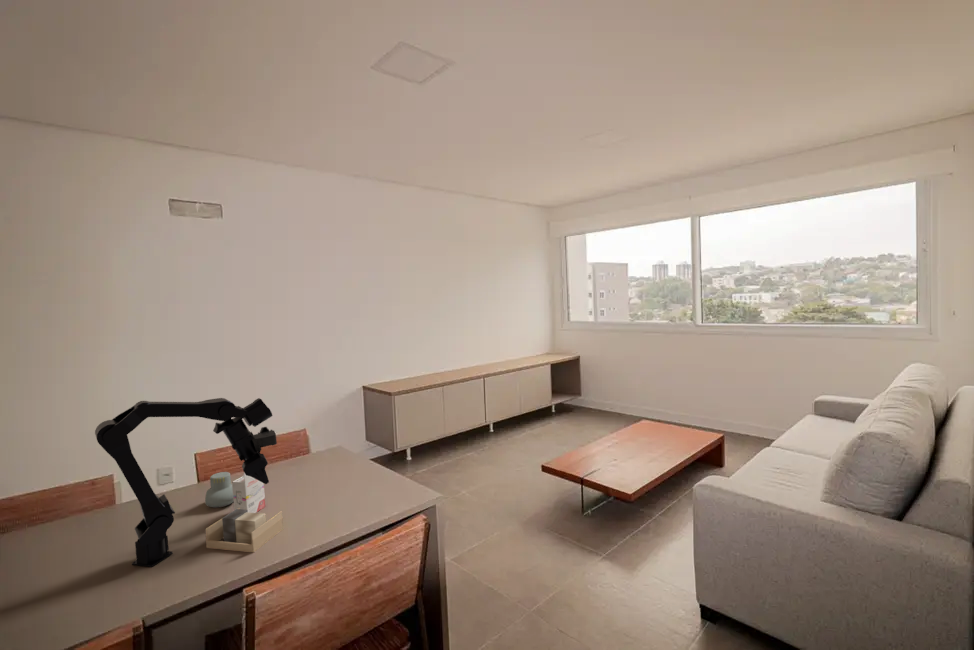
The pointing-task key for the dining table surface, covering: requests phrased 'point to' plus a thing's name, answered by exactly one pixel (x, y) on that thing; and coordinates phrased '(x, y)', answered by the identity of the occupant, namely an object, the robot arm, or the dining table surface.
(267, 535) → the wooden tray frame
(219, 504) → the air freshener
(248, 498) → the ink cartridge box
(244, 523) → the steel ended block
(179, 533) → the dining table surface
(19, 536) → the dining table surface
